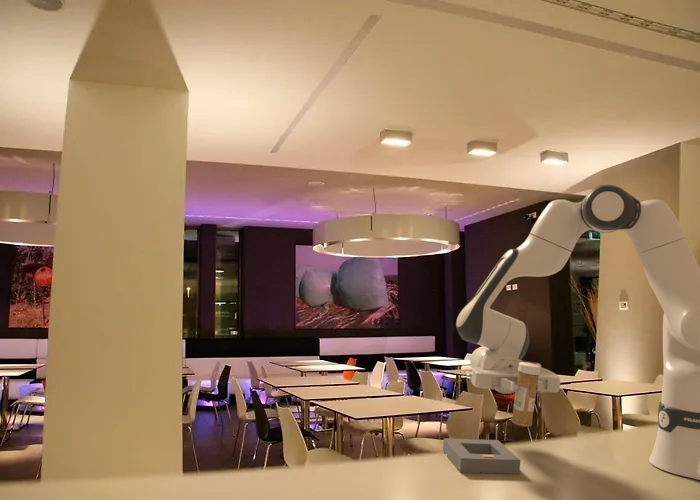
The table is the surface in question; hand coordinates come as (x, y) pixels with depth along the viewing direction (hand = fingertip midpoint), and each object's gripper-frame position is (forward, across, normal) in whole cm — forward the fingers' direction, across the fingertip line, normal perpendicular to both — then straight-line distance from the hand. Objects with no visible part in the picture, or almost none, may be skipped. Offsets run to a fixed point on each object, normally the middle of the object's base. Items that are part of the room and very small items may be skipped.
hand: (528, 388), depth 132 cm
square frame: (-2, -9, +17) cm, 20 cm away
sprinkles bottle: (-1, 0, +8) cm, 8 cm away
